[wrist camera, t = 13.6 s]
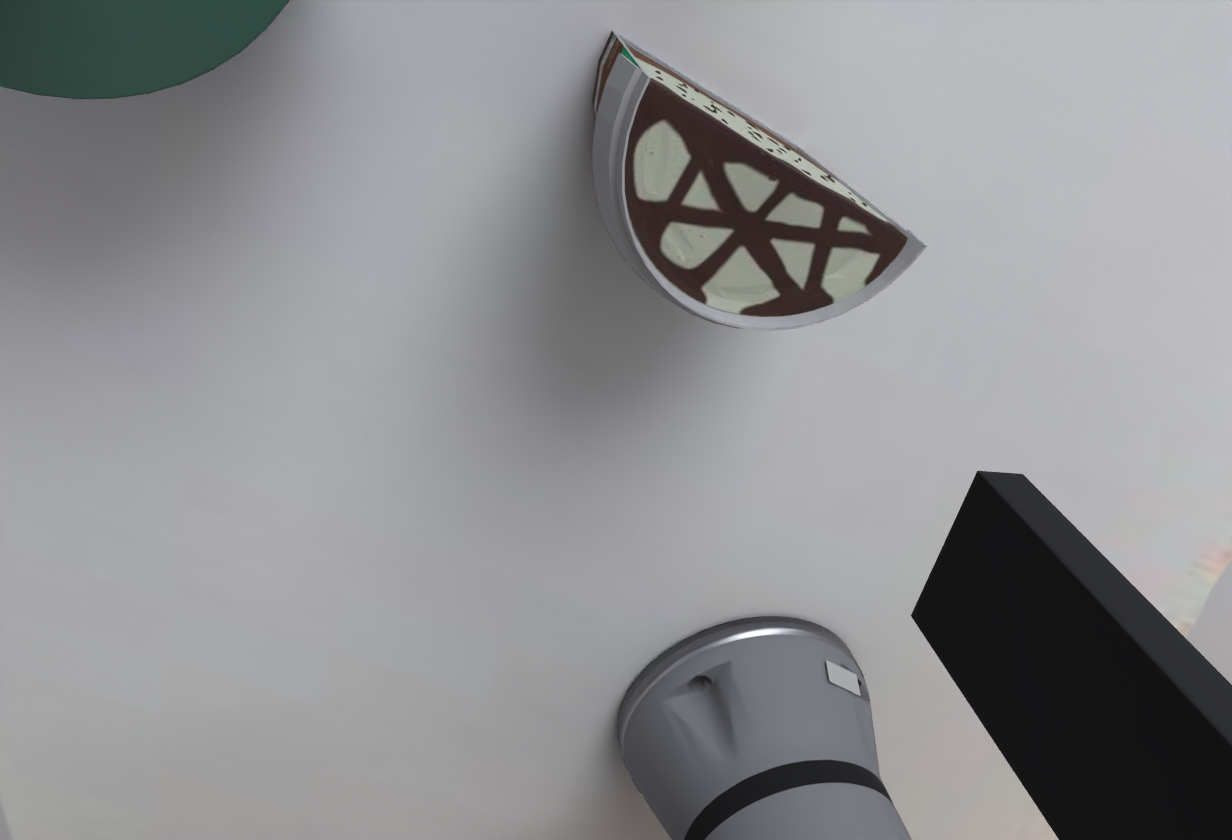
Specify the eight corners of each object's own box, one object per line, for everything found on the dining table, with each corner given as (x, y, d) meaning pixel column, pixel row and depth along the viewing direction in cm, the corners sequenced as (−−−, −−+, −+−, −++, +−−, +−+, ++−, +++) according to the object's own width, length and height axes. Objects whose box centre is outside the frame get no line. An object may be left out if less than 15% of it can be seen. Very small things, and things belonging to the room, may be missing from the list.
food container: (501, 155, 37) (529, 250, 29) (577, 9, 35) (633, 66, 26) (745, 284, 42) (829, 396, 34) (826, 164, 40) (938, 253, 31)
